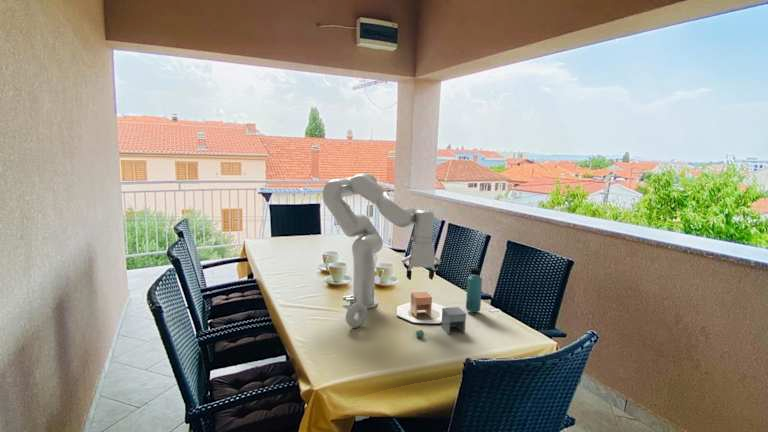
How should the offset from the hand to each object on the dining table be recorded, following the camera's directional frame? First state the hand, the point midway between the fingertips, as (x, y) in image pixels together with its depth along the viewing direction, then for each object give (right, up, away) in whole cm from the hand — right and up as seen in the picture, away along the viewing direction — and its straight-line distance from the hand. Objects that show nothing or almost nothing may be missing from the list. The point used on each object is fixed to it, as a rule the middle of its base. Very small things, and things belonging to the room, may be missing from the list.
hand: (419, 278), depth 170 cm
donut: (-26, -17, -12) cm, 34 cm away
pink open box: (+1, -15, +2) cm, 15 cm away
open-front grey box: (+12, -18, -13) cm, 25 cm away
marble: (-2, -19, -20) cm, 27 cm away
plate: (+2, -16, +3) cm, 17 cm away
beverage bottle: (+24, -16, +6) cm, 30 cm away
